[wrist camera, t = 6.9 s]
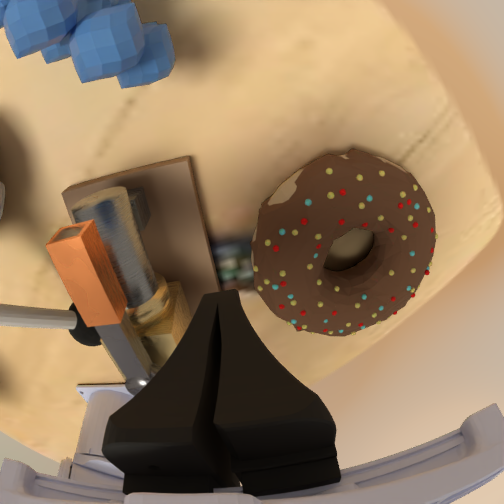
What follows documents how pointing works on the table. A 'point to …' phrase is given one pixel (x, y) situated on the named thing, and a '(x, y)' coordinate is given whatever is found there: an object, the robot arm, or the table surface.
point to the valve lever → (100, 299)
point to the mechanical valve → (47, 314)
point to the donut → (334, 226)
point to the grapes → (91, 38)
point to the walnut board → (166, 223)
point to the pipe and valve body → (137, 270)
